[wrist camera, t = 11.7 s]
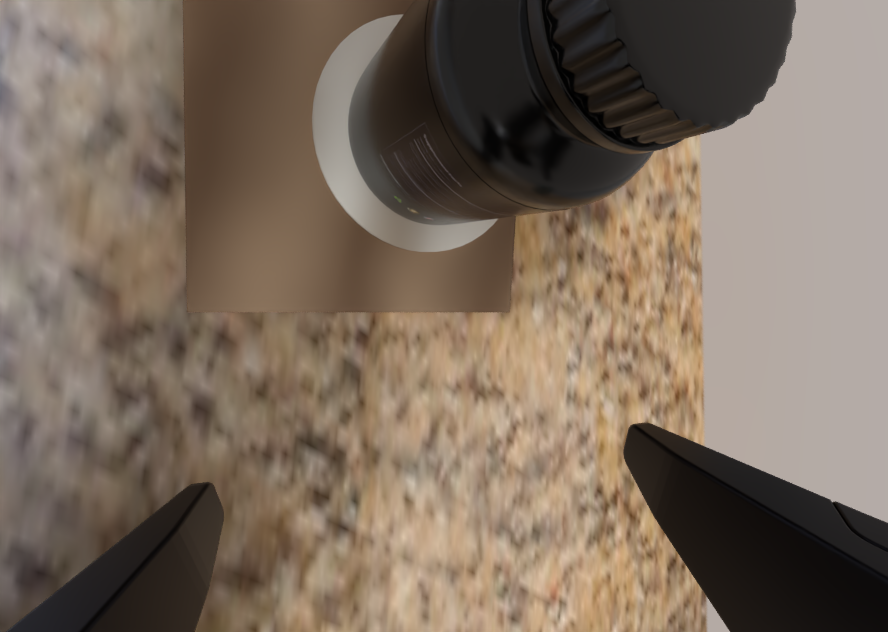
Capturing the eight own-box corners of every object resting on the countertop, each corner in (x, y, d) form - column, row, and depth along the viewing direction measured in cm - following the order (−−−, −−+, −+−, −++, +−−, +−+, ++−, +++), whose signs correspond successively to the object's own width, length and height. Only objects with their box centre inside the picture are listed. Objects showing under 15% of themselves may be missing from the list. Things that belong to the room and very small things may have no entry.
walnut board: (190, 308, 17) (186, 313, 15) (184, -174, 15) (179, -222, 14) (492, 309, 22) (511, 312, 21) (512, -42, 21) (535, -65, 19)
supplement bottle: (388, 8, 17) (674, -430, 6) (523, 115, 20) (873, -52, 9) (310, 172, 16) (473, 9, 6) (460, 257, 19) (754, 256, 9)
